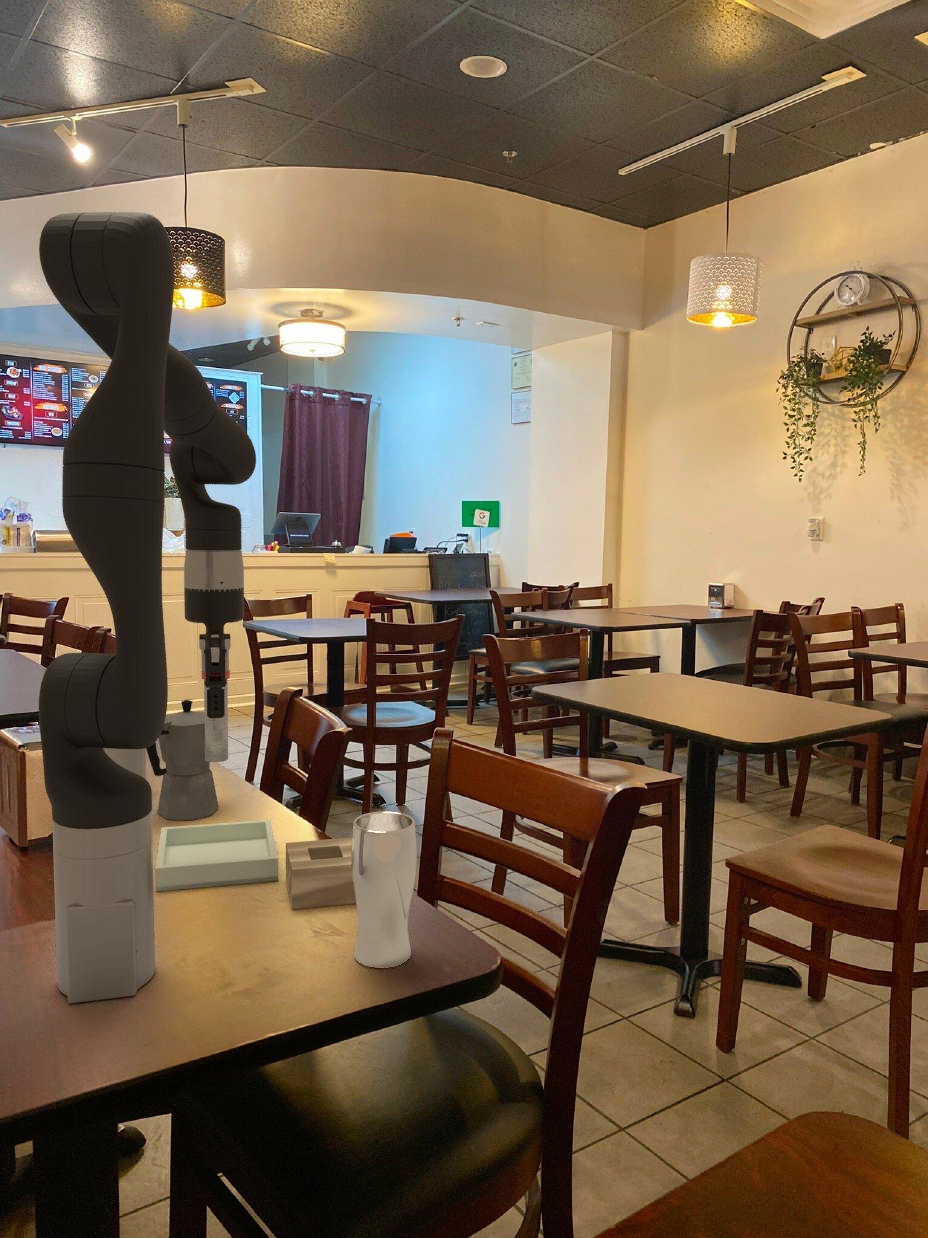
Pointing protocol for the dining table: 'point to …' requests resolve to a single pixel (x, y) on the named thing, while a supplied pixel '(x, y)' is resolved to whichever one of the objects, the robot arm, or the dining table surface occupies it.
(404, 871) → the beer glass
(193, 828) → the tray
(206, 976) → the dining table surface
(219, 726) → the pin
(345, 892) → the block
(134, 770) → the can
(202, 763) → the coffeepot
